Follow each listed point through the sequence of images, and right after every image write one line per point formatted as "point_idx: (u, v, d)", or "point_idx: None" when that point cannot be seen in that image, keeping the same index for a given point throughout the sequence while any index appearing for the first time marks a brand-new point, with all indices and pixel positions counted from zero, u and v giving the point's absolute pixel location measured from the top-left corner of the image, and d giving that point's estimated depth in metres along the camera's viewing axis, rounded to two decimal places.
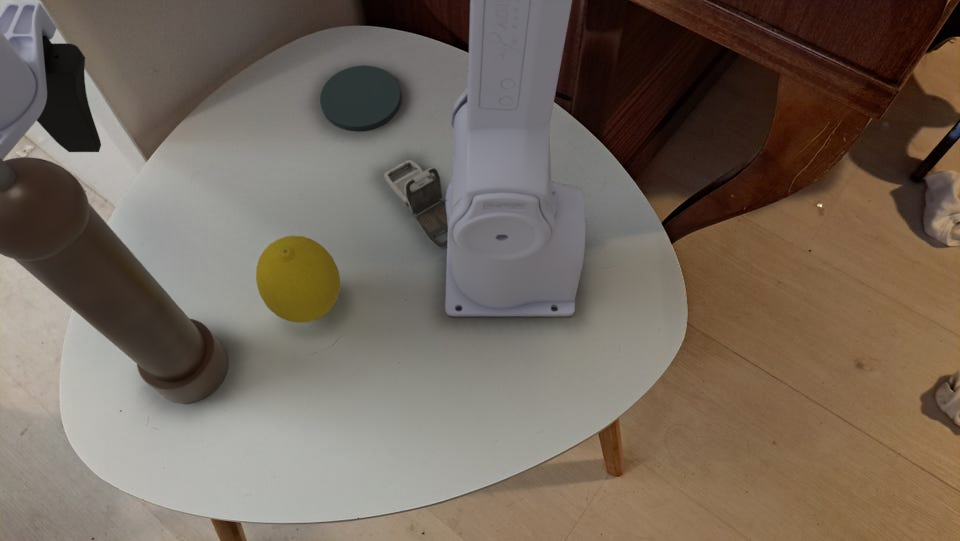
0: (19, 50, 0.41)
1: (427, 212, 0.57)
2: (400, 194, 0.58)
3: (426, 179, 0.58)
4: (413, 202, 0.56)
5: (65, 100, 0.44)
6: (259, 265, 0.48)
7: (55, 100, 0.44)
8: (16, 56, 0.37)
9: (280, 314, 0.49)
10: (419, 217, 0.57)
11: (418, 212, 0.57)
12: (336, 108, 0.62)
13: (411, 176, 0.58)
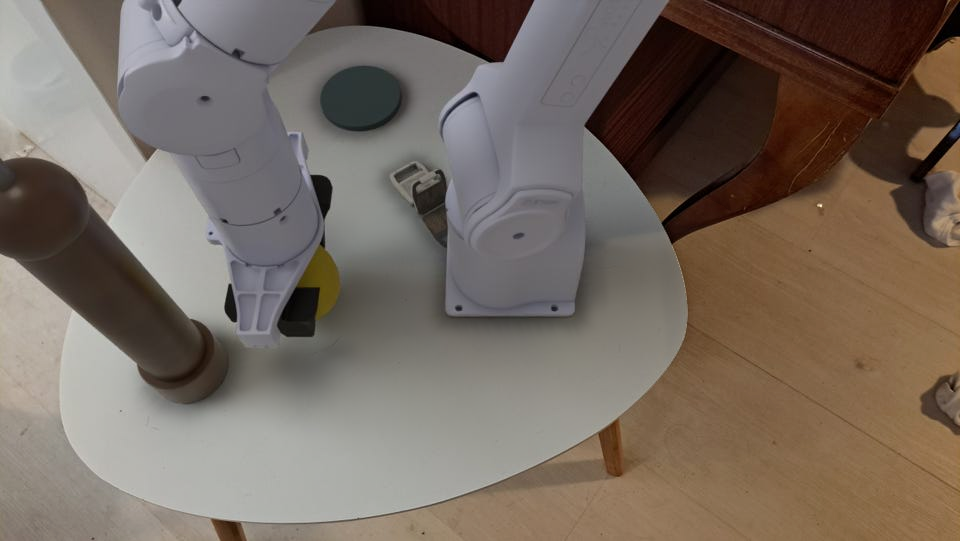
0: None
1: (433, 213, 0.57)
2: (406, 195, 0.58)
3: (432, 180, 0.58)
4: (419, 203, 0.56)
5: None
6: None
7: None
8: (309, 192, 0.43)
9: None
10: (425, 218, 0.57)
11: (423, 213, 0.57)
12: (336, 108, 0.62)
13: (417, 177, 0.58)
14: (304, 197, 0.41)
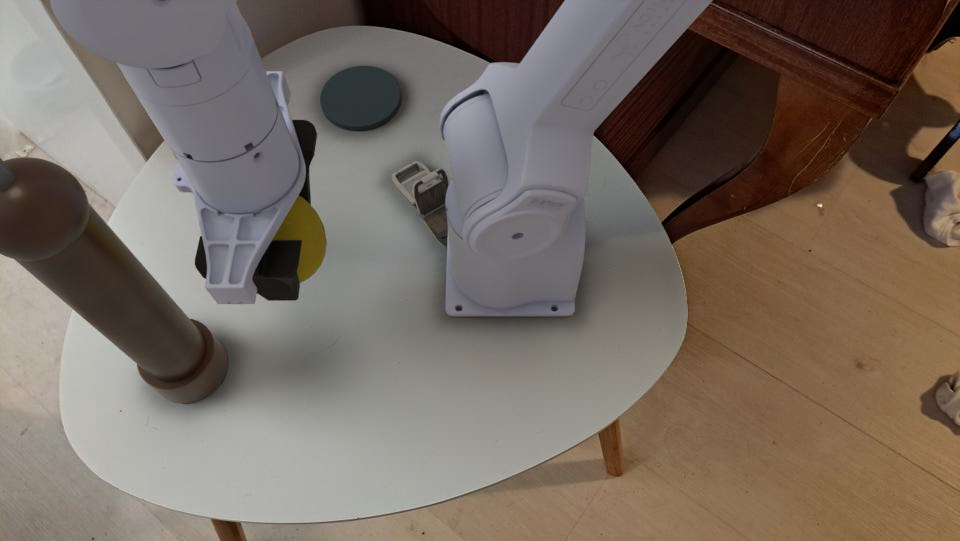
0: None
1: (435, 213, 0.57)
2: (408, 195, 0.58)
3: (434, 180, 0.58)
4: (421, 203, 0.56)
5: None
6: None
7: None
8: (289, 131, 0.38)
9: None
10: (427, 218, 0.57)
11: (425, 213, 0.57)
12: (336, 108, 0.62)
13: (418, 177, 0.58)
14: (282, 133, 0.36)
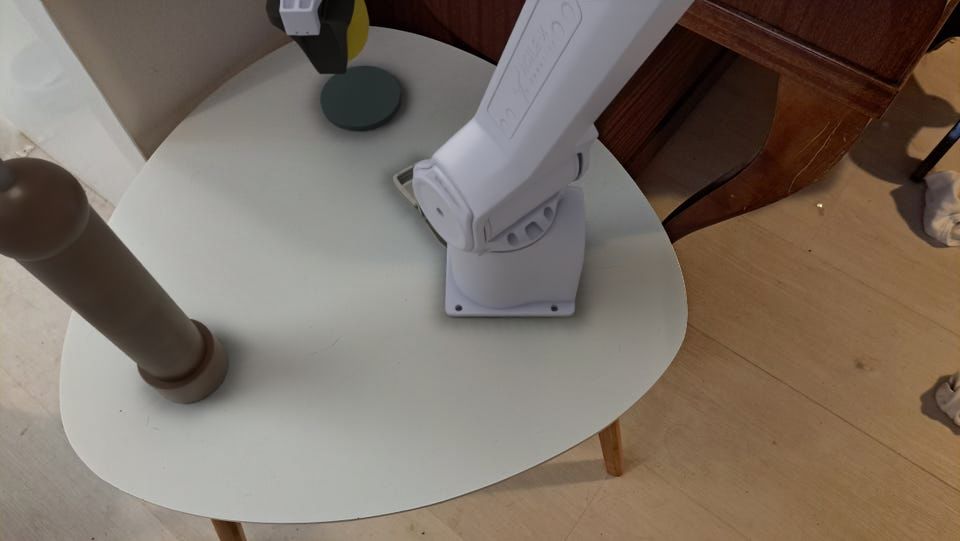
0: None
1: None
2: (409, 197, 0.57)
3: None
4: None
5: None
6: None
7: None
8: None
9: None
10: None
11: None
12: (336, 108, 0.62)
13: None
14: None
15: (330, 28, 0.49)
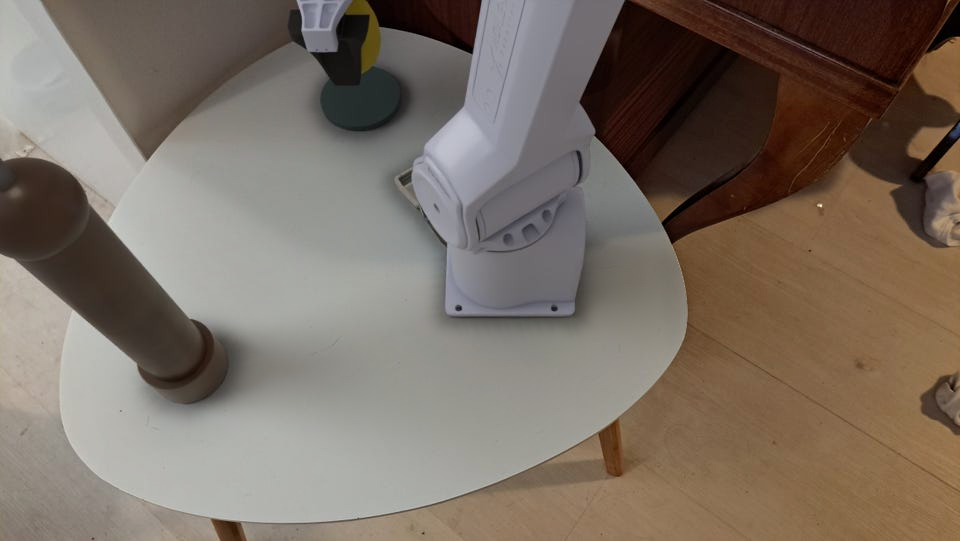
0: None
1: None
2: (411, 198, 0.57)
3: None
4: None
5: None
6: None
7: None
8: None
9: None
10: None
11: None
12: (336, 108, 0.62)
13: None
14: None
15: (346, 44, 0.53)
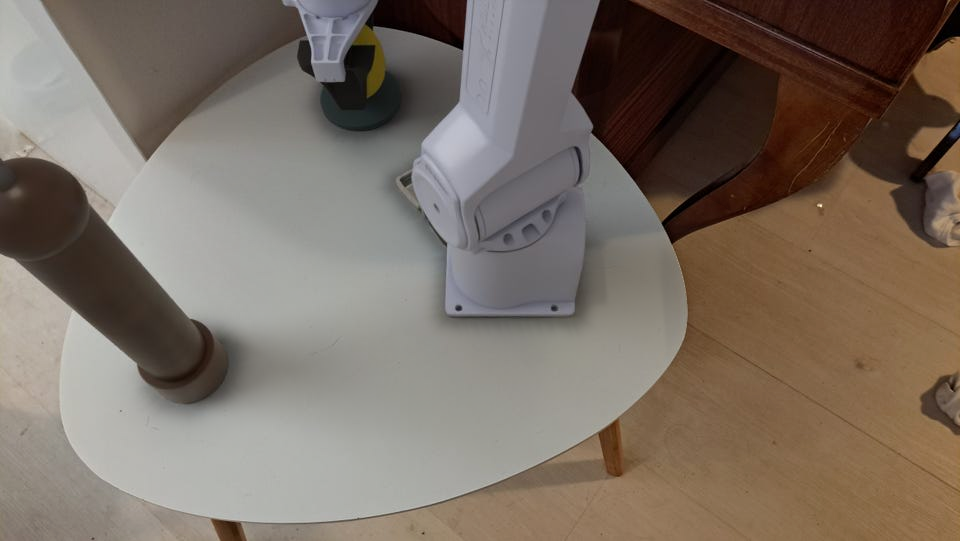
0: None
1: None
2: (412, 199, 0.57)
3: None
4: None
5: None
6: None
7: None
8: None
9: None
10: None
11: None
12: (336, 108, 0.62)
13: None
14: None
15: (352, 72, 0.56)
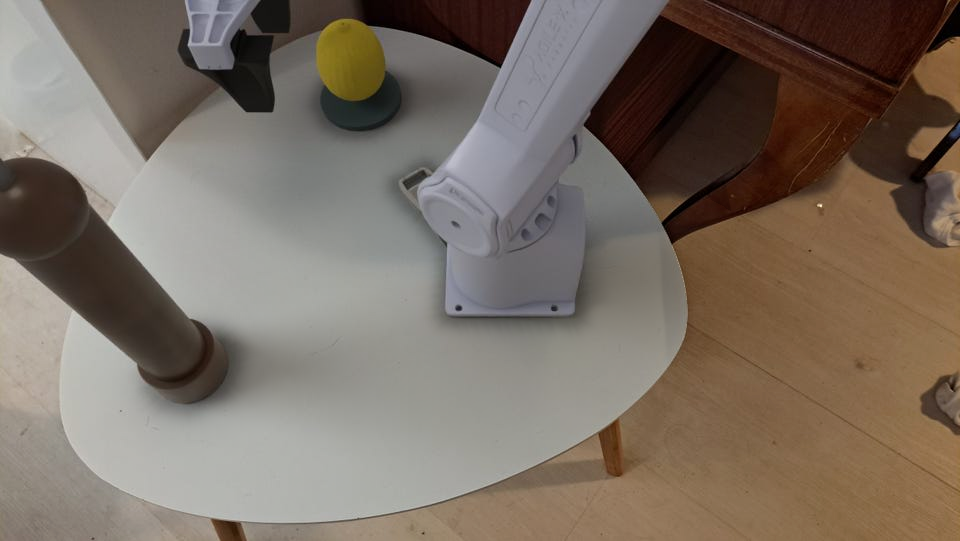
0: None
1: None
2: (415, 202, 0.57)
3: None
4: None
5: None
6: (320, 40, 0.57)
7: None
8: None
9: (336, 86, 0.58)
10: None
11: None
12: (336, 108, 0.62)
13: None
14: None
15: None
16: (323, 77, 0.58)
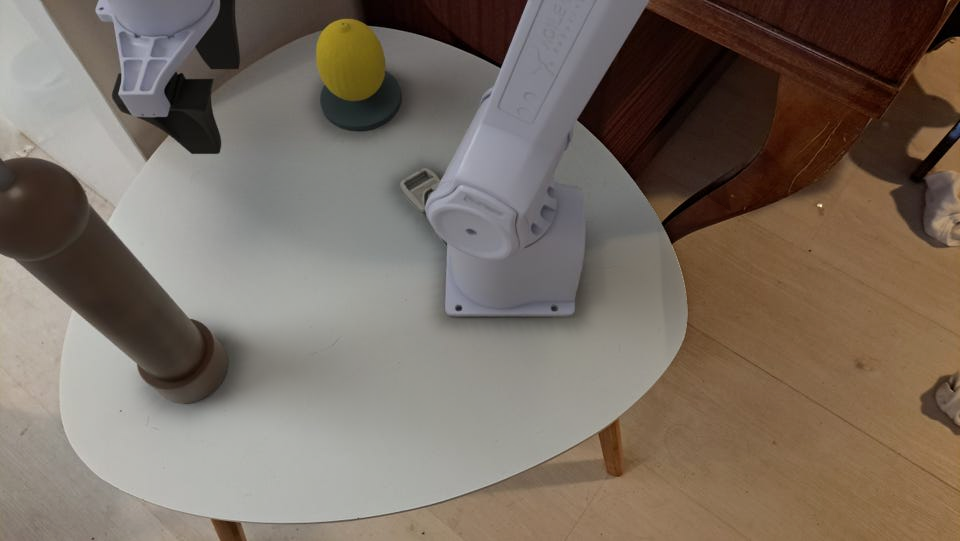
0: None
1: None
2: (417, 203, 0.57)
3: None
4: None
5: (219, 15, 0.48)
6: (320, 40, 0.57)
7: None
8: None
9: (336, 86, 0.58)
10: None
11: None
12: (336, 108, 0.62)
13: (428, 184, 0.58)
14: None
15: None
16: (323, 77, 0.58)
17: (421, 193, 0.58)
